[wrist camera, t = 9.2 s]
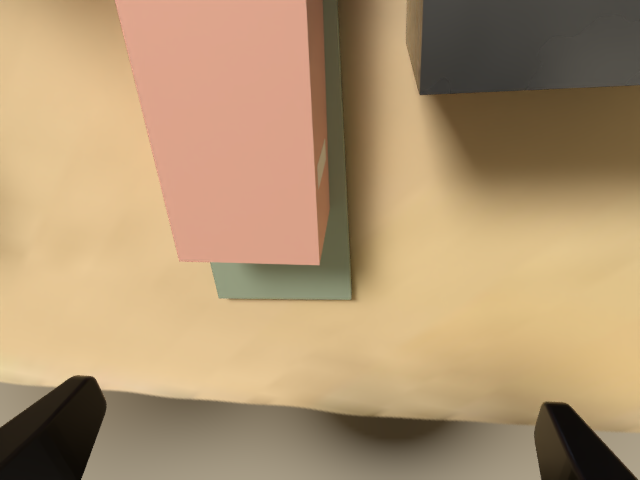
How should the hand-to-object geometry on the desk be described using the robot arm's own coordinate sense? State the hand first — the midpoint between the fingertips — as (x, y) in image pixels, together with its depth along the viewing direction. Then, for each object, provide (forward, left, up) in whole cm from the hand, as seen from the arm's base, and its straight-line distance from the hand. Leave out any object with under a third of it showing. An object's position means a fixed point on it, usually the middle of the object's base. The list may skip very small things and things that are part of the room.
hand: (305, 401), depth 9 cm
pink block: (+3, -5, -11) cm, 12 cm away
